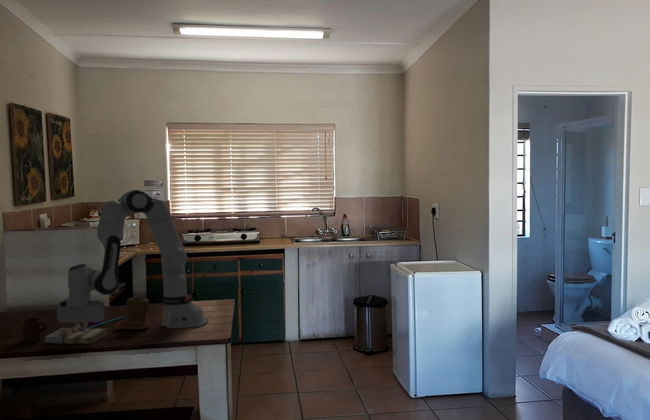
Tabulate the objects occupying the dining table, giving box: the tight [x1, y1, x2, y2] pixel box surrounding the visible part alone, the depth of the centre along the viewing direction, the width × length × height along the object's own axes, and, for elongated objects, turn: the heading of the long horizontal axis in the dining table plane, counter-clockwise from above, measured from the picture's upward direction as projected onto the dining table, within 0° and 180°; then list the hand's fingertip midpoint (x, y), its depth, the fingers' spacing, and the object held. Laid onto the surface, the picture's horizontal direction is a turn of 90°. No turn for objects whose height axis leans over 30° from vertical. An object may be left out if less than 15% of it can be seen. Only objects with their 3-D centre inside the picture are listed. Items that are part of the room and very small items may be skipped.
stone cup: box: [113, 297, 151, 331], centre depth 247 cm, size 15×12×15 cm
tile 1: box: [70, 325, 78, 334], centre depth 236 cm, size 5×5×2 cm
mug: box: [21, 317, 48, 344], centre depth 230 cm, size 12×8×9 cm, turn 76°
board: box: [63, 328, 108, 344], centre depth 232 cm, size 13×14×2 cm
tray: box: [44, 327, 72, 344], centre depth 233 cm, size 8×14×3 cm, turn 177°
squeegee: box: [86, 315, 125, 329], centre depth 257 cm, size 29×2×10 cm
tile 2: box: [57, 329, 73, 338], centre depth 230 cm, size 5×5×2 cm
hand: (81, 331), depth 229 cm, fingers closed
